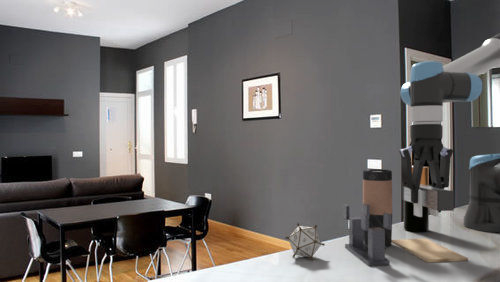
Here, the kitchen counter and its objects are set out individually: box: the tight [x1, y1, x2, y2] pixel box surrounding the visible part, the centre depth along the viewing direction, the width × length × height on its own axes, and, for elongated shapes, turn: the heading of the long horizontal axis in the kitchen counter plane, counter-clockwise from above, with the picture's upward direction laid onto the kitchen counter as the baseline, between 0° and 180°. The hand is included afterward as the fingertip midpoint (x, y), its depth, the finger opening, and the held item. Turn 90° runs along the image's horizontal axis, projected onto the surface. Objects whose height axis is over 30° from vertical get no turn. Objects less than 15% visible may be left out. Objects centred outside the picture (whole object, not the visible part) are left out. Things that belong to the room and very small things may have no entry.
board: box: [391, 238, 469, 263], centre depth 103 cm, size 10×18×1 cm, turn 7°
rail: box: [401, 182, 455, 212], centre depth 102 cm, size 17×4×5 cm, turn 7°
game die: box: [284, 222, 326, 261], centre depth 98 cm, size 9×8×10 cm
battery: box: [403, 164, 430, 233], centre depth 124 cm, size 7×7×20 cm
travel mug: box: [362, 168, 393, 248], centre depth 109 cm, size 8×8×20 cm
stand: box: [342, 203, 393, 267], centre depth 98 cm, size 15×6×12 cm, turn 7°
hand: (425, 215), depth 102 cm, fingers closed on rail, 4 cm apart
